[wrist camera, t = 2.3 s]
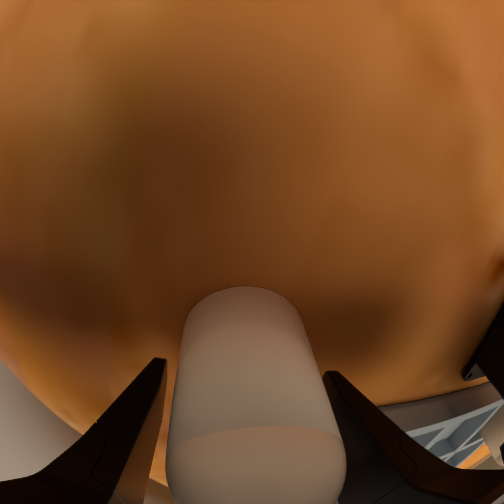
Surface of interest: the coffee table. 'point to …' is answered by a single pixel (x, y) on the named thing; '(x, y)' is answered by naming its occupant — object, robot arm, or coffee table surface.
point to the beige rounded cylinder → (494, 434)
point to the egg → (251, 407)
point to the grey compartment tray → (448, 421)
